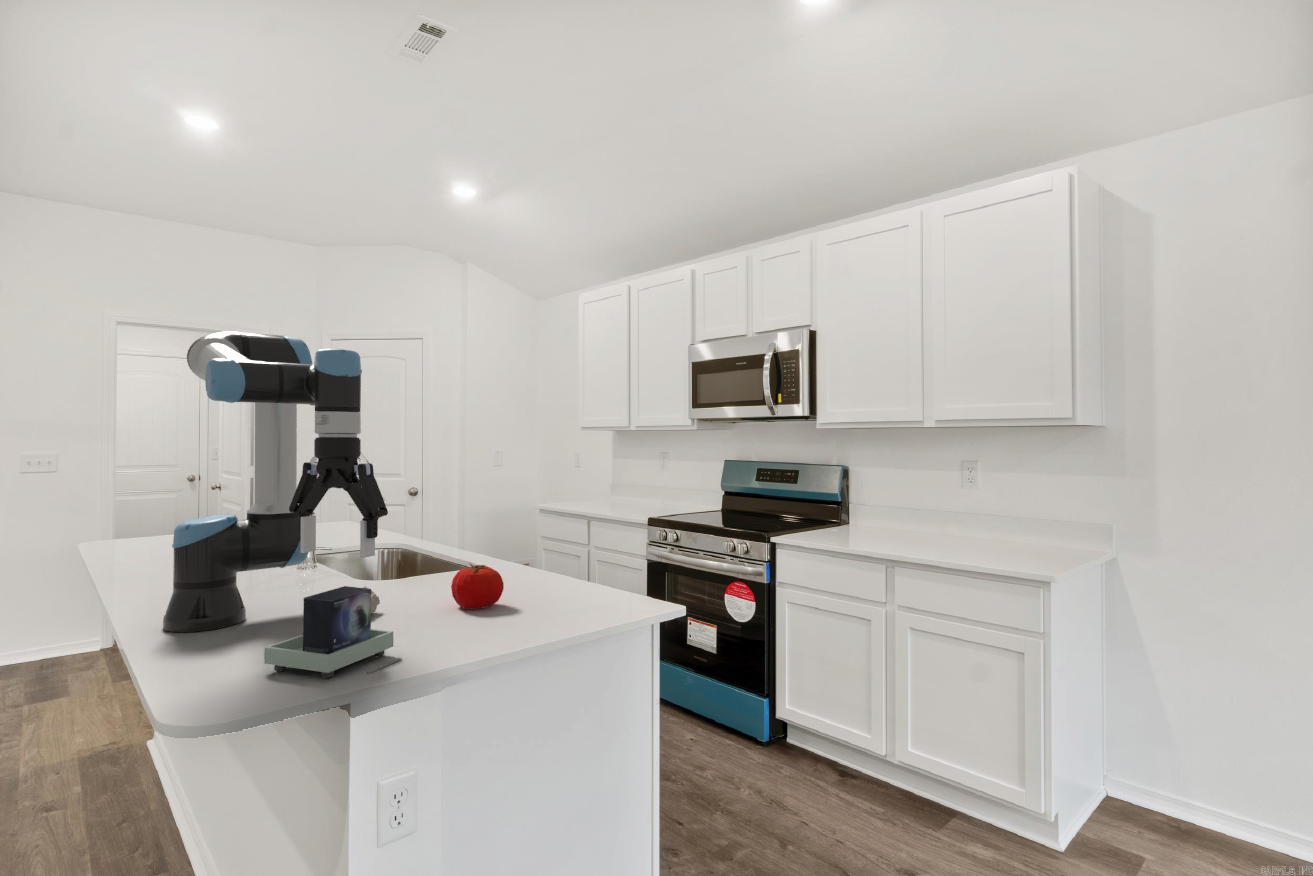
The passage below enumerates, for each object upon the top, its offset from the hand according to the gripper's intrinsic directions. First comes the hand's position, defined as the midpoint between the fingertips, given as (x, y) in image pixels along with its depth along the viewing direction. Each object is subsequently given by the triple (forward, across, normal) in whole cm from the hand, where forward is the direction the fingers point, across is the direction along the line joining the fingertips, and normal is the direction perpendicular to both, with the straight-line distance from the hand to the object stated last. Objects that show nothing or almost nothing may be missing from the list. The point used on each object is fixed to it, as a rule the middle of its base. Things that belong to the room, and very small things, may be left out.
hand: (337, 554), depth 122 cm
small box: (+18, 0, 0) cm, 18 cm away
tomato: (+20, -1, +44) cm, 48 cm away
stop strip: (+20, +9, +2) cm, 22 cm away
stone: (+20, -21, +26) cm, 39 cm away
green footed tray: (+20, -1, 0) cm, 20 cm away
